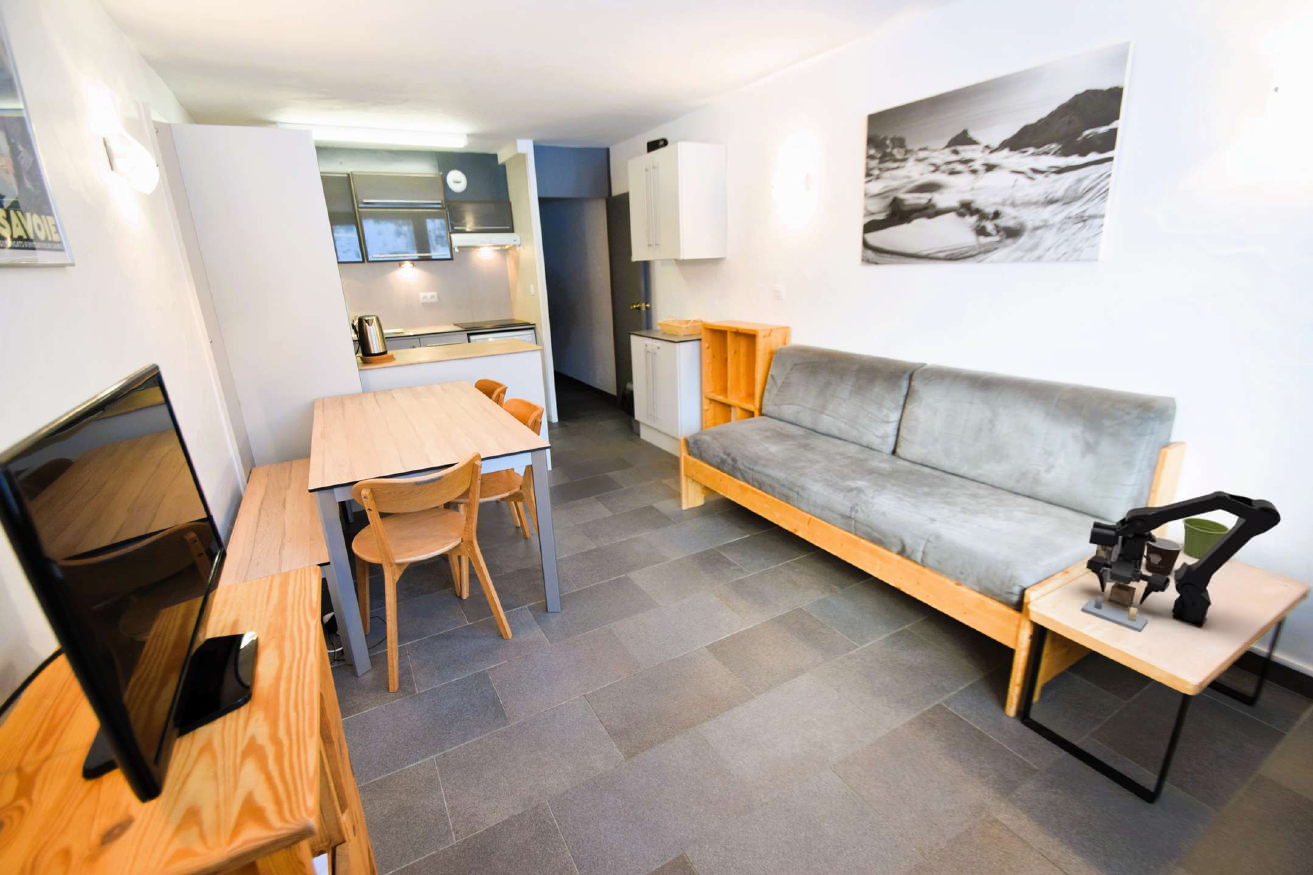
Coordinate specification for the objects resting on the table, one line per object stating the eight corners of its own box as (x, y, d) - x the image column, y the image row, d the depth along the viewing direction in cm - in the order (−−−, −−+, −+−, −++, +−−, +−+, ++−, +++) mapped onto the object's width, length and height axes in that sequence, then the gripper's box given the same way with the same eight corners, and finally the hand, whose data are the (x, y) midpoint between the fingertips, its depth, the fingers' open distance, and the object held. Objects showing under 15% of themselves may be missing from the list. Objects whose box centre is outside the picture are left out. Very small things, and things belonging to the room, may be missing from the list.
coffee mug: (1182, 577, 187) (1189, 549, 184) (1155, 578, 187) (1161, 550, 184) (1153, 559, 198) (1159, 533, 195) (1127, 560, 198) (1133, 533, 195)
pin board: (1147, 622, 165) (1150, 608, 164) (1140, 632, 161) (1143, 618, 160) (1089, 601, 176) (1091, 588, 175) (1081, 610, 172) (1083, 597, 171)
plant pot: (1190, 562, 196) (1198, 531, 192) (1167, 546, 207) (1174, 516, 203) (1231, 564, 194) (1239, 533, 190) (1205, 547, 205) (1212, 518, 201)
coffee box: (1129, 583, 185) (1139, 537, 180) (1106, 581, 186) (1115, 535, 182) (1113, 568, 194) (1122, 524, 189) (1091, 567, 195) (1100, 523, 190)
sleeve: (1132, 602, 175) (1136, 587, 173) (1127, 608, 172) (1131, 593, 171) (1113, 595, 178) (1116, 581, 177) (1108, 601, 176) (1111, 587, 174)
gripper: (1084, 548, 173) (1075, 595, 177) (1164, 572, 159) (1153, 622, 163) (1097, 537, 179) (1088, 582, 184) (1175, 559, 165) (1164, 607, 170)
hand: (1121, 597), depth 175 cm, fingers open, 9 cm apart
